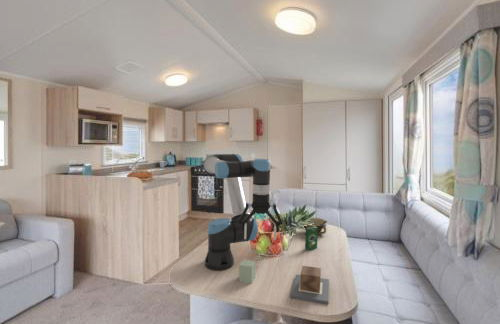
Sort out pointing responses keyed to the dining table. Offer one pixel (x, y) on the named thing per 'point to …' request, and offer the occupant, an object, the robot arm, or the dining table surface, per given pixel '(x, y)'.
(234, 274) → the dining table surface
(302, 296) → the grey flat slab
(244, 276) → the sage brick
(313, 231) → the coffee box
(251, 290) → the dining table surface
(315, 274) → the walnut block
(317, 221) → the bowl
